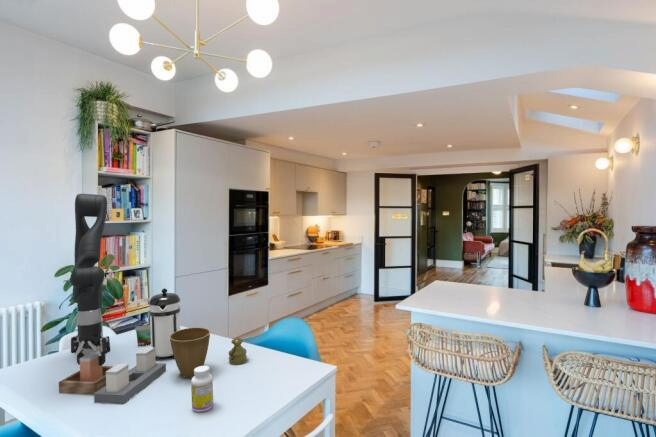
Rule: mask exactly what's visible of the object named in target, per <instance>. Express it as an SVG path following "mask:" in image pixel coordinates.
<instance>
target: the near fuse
mask: <svg viewBox="0 0 656 437" xmlns="http://www.w3.org/2000/svg"><path fill="white" fill-rule="evenodd" d="M113 366H114V367H113V368H111V369H109V370H108V371H106V390H107V392H110V393H118V392H120V391H121V390H122V389H124V388H125V387H126V386H128V385H129V370H130V368H129V364H128V363H127V364H125V363H124V364H121V363H118V364H116V365H113Z"/></svg>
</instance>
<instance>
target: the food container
mask: <svg viewBox="0 0 656 437" xmlns="http://www.w3.org/2000/svg"><path fill="white" fill-rule="evenodd" d="M135 331H136V341H137V347H147V346H151V345H150V344H151V329H150V321H148V322H145V323H143V324H142V325H136V326H135V329H134V332H135ZM146 345H147V346H146Z"/></svg>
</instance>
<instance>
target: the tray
mask: <svg viewBox="0 0 656 437" xmlns="http://www.w3.org/2000/svg"><path fill="white" fill-rule="evenodd" d="M114 366H115V365H102V376H103V377H101V378H99V379H98V380H96V381H95V382H84V381H80V369H79V370H77V371H76V372H74V373H72V374H71V375H68V376H67V377H65V378H63V379H61V380H60V381H58V393H59V394H68V395H69V394H70V395H89V396H90V395H91V396H94V393H96V392H97V391H99V390H100V389H102V388H103V387H105V386H106V371H108V370H109V369H111V368H113V367H114Z"/></svg>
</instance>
